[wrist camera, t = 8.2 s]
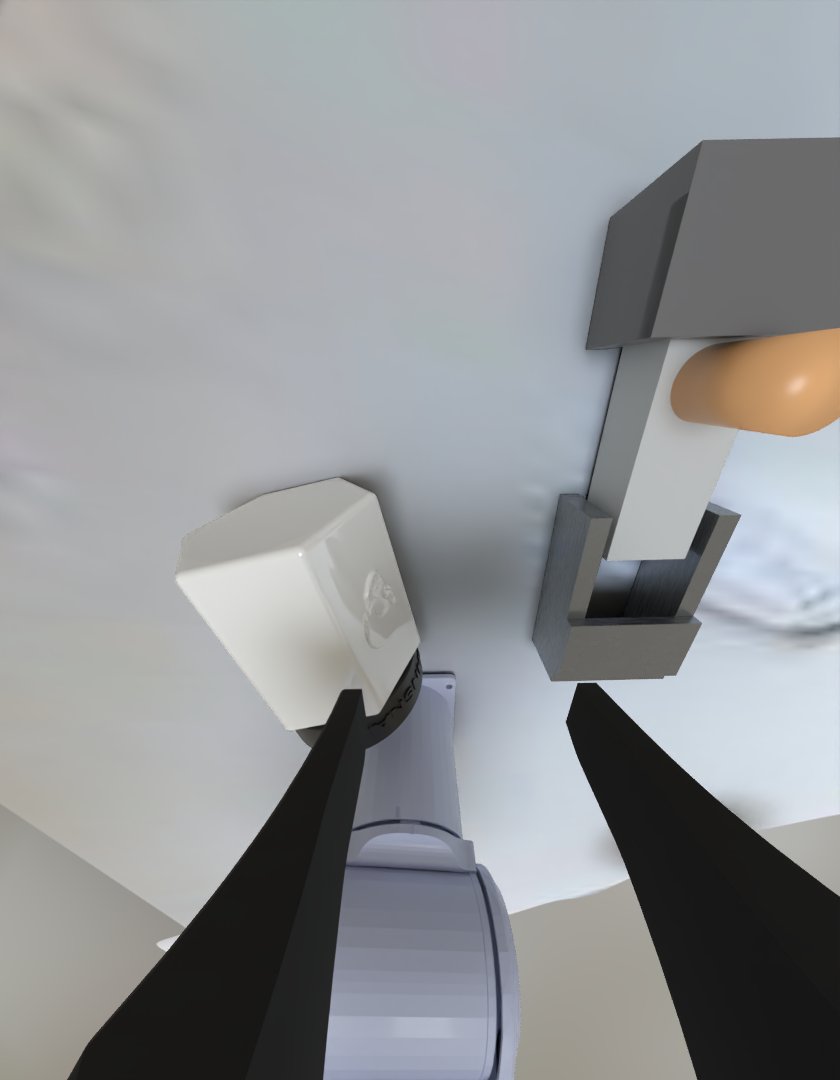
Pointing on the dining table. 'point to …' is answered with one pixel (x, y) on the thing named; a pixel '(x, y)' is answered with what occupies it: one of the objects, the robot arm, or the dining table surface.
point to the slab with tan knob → (699, 427)
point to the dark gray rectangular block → (726, 247)
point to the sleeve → (651, 612)
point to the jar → (309, 604)
